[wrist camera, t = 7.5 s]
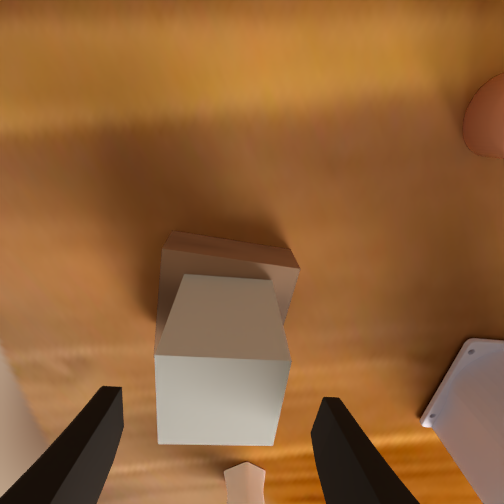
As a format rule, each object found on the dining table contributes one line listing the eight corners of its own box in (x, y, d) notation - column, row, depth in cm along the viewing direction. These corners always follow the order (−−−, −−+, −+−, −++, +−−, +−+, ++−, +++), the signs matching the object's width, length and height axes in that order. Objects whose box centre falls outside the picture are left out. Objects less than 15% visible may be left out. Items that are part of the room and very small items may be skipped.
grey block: (261, 347, 16) (272, 445, 11) (183, 343, 16) (157, 444, 11) (271, 280, 14) (291, 360, 9) (184, 273, 14) (154, 354, 9)
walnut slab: (264, 335, 20) (270, 368, 17) (164, 324, 19) (153, 357, 16) (288, 246, 17) (300, 268, 14) (173, 228, 16) (161, 248, 13)
